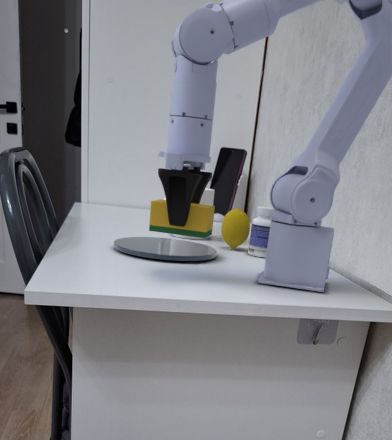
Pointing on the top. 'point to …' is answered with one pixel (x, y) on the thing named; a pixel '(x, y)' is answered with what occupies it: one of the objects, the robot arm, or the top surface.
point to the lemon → (235, 228)
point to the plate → (165, 248)
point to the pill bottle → (260, 231)
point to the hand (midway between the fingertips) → (181, 224)
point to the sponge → (195, 225)
